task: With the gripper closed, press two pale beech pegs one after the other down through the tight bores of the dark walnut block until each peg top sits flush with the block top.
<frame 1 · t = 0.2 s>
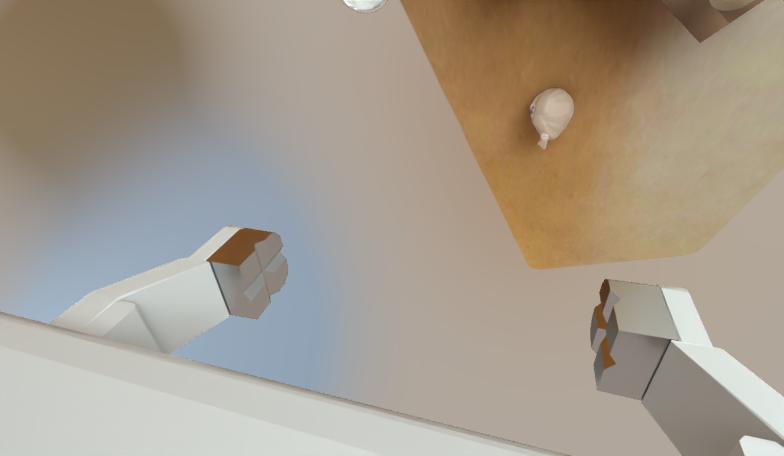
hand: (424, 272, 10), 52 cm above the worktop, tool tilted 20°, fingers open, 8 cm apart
garlic bulb: (552, 99, 62), on the worktop
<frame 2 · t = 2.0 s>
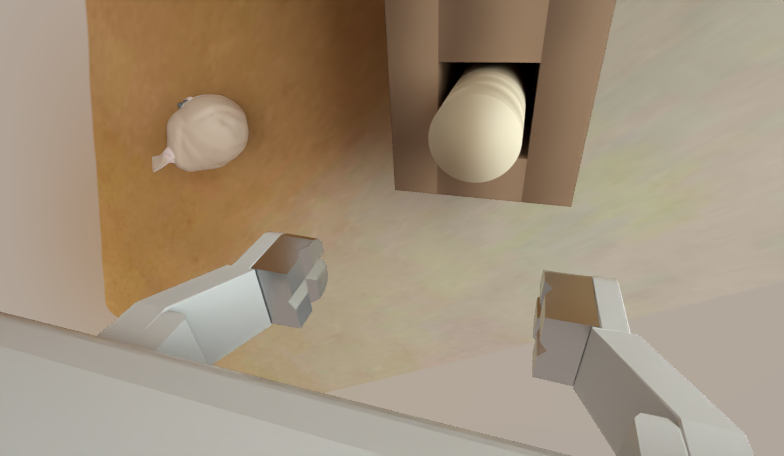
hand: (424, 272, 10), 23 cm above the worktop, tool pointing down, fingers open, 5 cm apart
garlic bulb: (233, 120, 38), on the worktop
peg b: (485, 109, 21), point 10 cm above the worktop, slide at 0.0 cm
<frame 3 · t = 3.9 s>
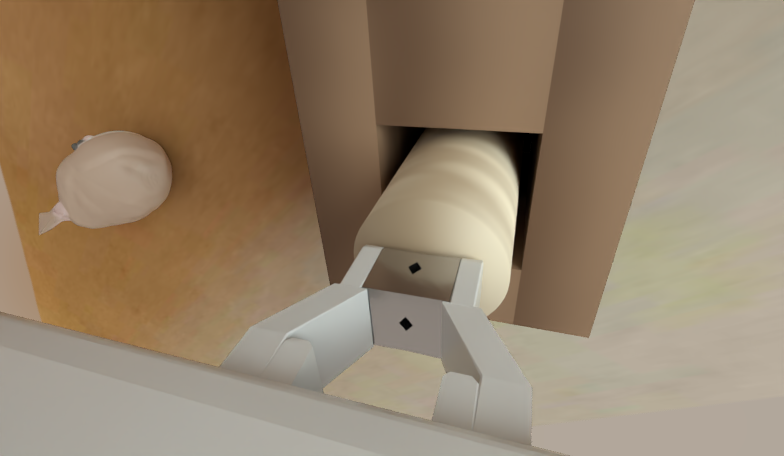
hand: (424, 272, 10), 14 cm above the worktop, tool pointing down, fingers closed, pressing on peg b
garlic bulb: (156, 159, 30), on the worktop
peg b: (457, 186, 14), point 9 cm above the worktop, slide at 0.5 cm, touching gripper
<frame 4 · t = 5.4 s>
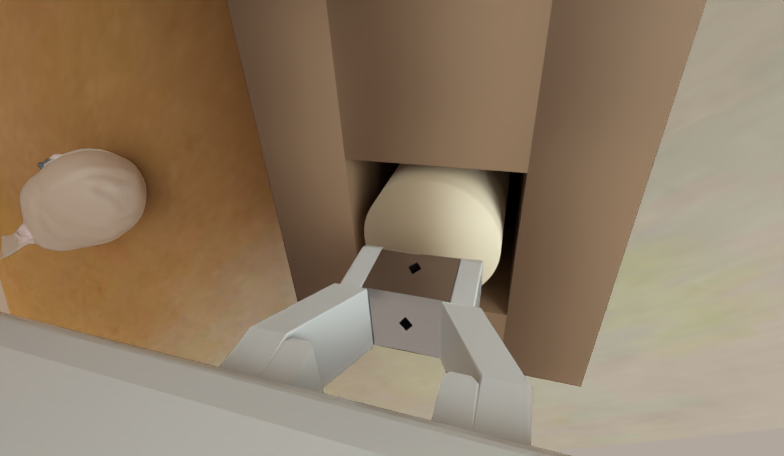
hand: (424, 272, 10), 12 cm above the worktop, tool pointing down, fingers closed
garlic bulb: (131, 177, 29), on the worktop
peg b: (454, 177, 15), point 6 cm above the worktop, slide at 3.9 cm
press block: (480, 11, 17), on the worktop
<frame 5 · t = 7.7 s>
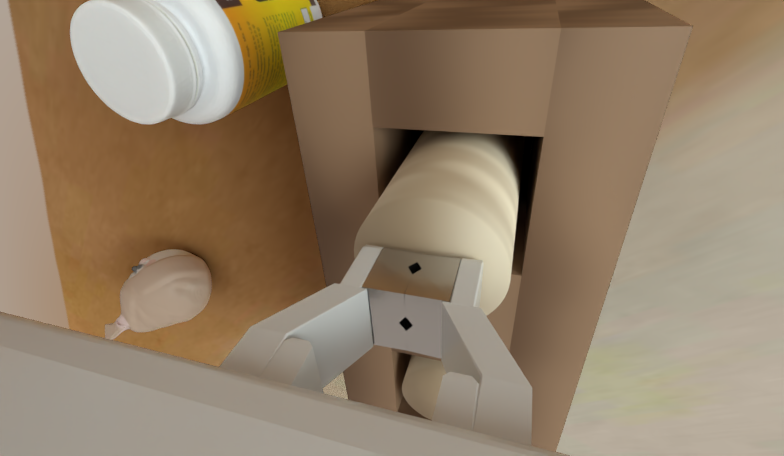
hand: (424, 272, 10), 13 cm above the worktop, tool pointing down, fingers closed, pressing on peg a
peg a: (458, 185, 14), point 9 cm above the worktop, slide at 0.8 cm, touching gripper
supplement bottle: (282, 22, 22), on the worktop
garlic bulb: (197, 265, 36), on the worktop
peg b: (461, 325, 22), point 6 cm above the worktop, slide at 3.9 cm
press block: (480, 193, 23), on the worktop
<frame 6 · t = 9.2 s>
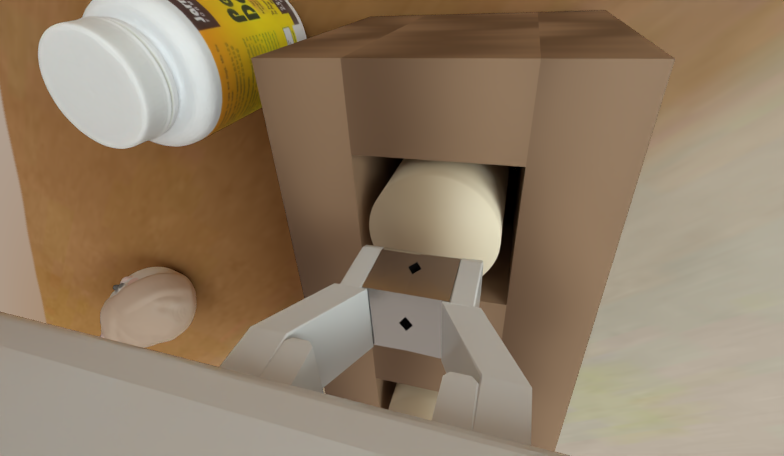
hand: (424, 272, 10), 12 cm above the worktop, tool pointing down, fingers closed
peg a: (455, 173, 16), point 6 cm above the worktop, slide at 3.9 cm
supplement bottle: (265, 40, 21), on the worktop
garlic bulb: (181, 282, 35), on the worktop
peg b: (448, 348, 21), point 6 cm above the worktop, slide at 3.9 cm
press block: (467, 212, 23), on the worktop
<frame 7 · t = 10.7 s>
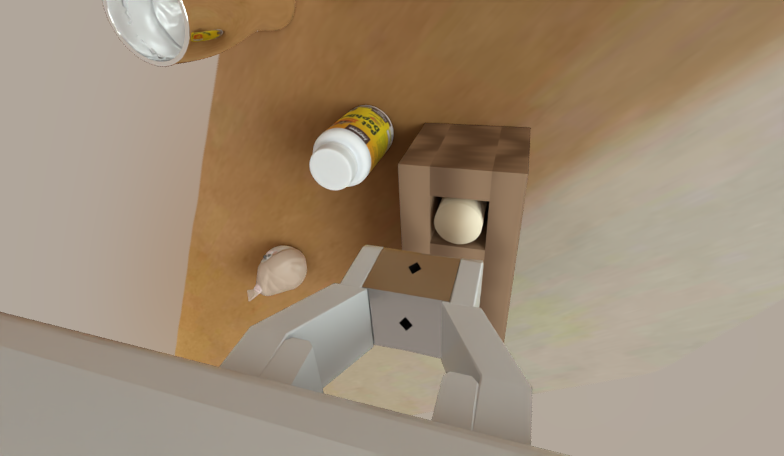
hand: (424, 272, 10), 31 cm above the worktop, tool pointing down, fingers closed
peg a: (465, 198, 37), point 6 cm above the worktop, slide at 3.9 cm
supplement bottle: (370, 128, 43), on the worktop
garlic bulb: (294, 255, 57), on the worktop
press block: (470, 213, 45), on the worktop
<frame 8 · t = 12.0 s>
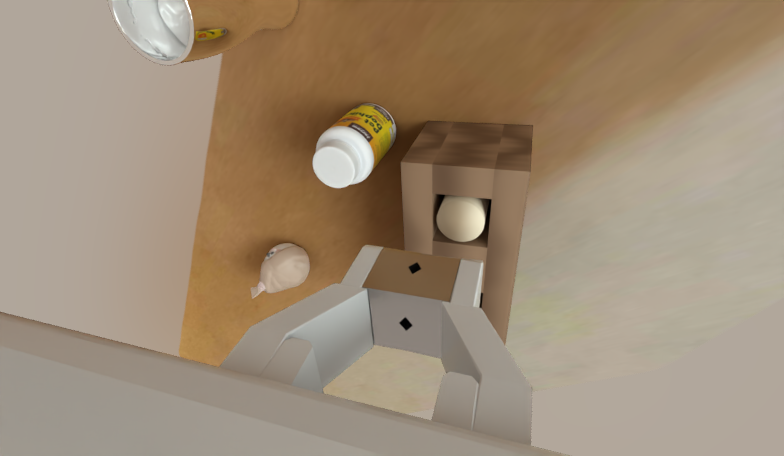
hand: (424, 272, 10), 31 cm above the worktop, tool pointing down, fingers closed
peg a: (467, 196, 37), point 6 cm above the worktop, slide at 3.9 cm
supplement bottle: (373, 126, 43), on the worktop
garlic bulb: (297, 253, 57), on the worktop
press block: (472, 211, 45), on the worktop
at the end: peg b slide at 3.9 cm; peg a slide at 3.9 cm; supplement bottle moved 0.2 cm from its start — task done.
